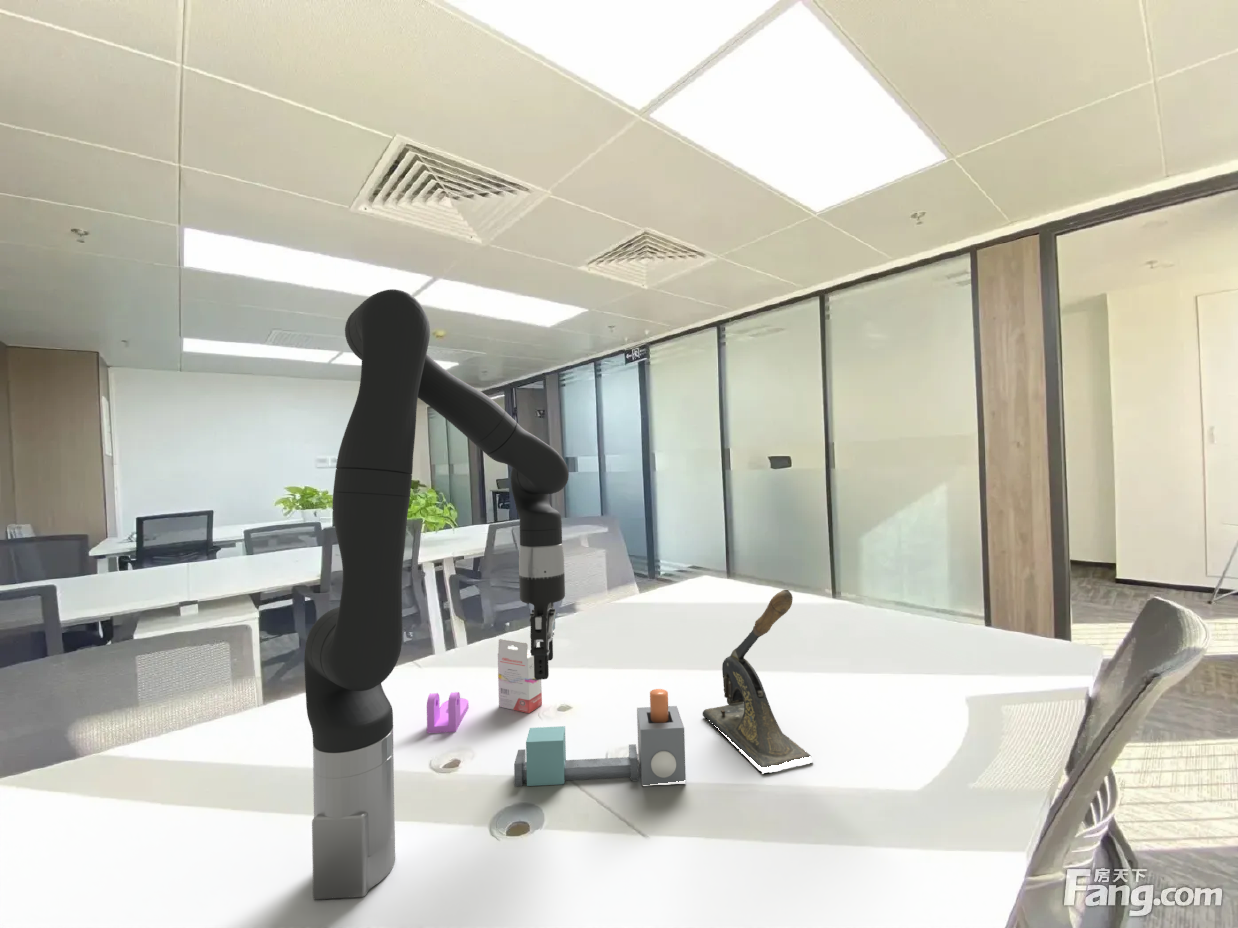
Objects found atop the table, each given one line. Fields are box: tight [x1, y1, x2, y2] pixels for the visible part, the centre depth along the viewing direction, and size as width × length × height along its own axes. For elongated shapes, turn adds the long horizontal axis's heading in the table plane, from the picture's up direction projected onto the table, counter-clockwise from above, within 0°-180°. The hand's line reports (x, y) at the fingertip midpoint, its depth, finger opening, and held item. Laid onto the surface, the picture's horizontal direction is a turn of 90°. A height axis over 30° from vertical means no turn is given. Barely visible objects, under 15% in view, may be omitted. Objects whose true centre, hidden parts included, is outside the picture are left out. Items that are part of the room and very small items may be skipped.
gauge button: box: [649, 688, 669, 723], centre depth 88 cm, size 3×3×4 cm
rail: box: [513, 743, 639, 787], centre depth 87 cm, size 4×20×4 cm, turn 92°
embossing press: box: [702, 589, 811, 767], centre depth 98 cm, size 11×24×30 cm, turn 15°
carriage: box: [525, 725, 567, 787], centre depth 87 cm, size 5×6×7 cm
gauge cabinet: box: [636, 705, 687, 786], centre depth 88 cm, size 8×7×9 cm
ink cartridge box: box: [497, 638, 543, 714], centre depth 115 cm, size 9×5×15 cm, turn 62°
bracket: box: [426, 691, 470, 734], centre depth 110 cm, size 13×6×7 cm, turn 3°
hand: (544, 668), depth 88 cm, fingers open, 8 cm apart
